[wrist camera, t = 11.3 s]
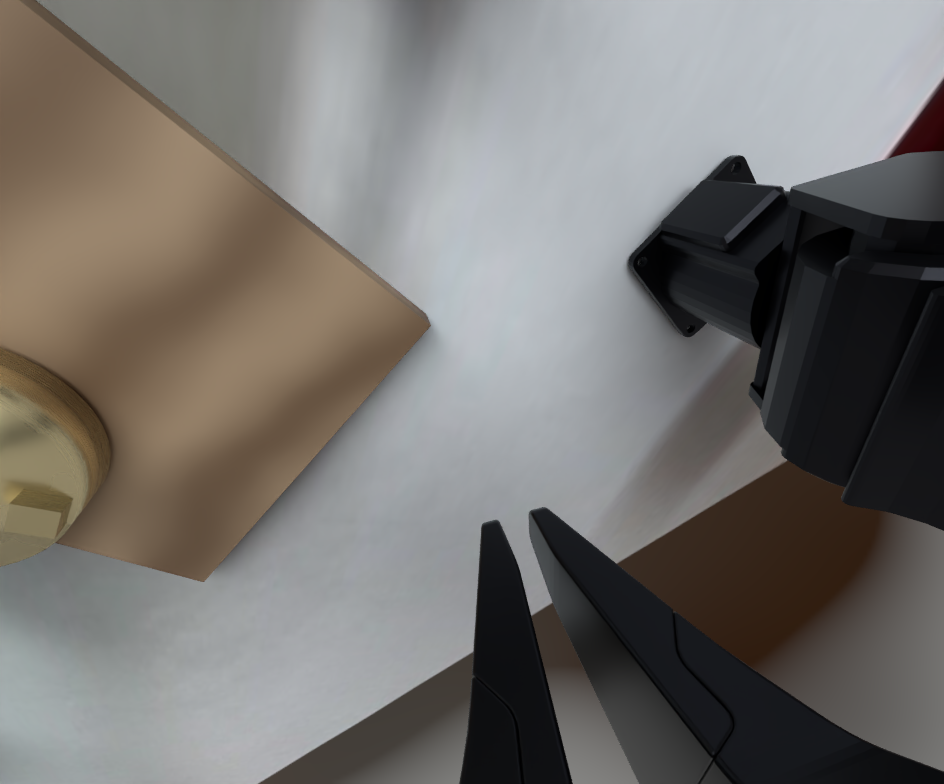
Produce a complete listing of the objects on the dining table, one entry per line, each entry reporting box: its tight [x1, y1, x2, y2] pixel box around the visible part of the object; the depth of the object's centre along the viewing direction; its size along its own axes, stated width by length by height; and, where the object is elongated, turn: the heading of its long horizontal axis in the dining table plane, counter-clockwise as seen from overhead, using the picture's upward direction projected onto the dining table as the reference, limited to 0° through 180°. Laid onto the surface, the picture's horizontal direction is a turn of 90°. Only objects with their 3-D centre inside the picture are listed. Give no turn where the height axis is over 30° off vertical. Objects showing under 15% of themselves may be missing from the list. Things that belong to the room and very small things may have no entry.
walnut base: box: [0, 0, 431, 582], centre depth 17 cm, size 16×19×2 cm
